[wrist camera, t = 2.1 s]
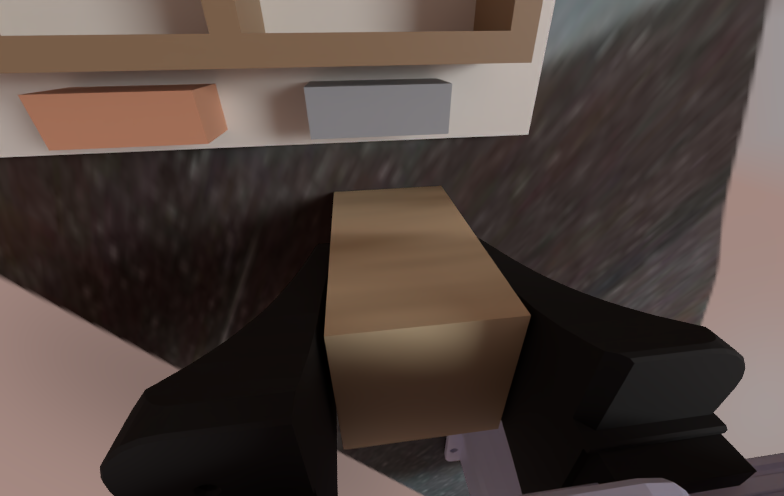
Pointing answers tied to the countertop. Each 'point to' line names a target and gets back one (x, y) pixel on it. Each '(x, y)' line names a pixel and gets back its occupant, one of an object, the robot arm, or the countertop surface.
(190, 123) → the socket board
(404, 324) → the maple peg
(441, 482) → the countertop surface
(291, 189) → the countertop surface
